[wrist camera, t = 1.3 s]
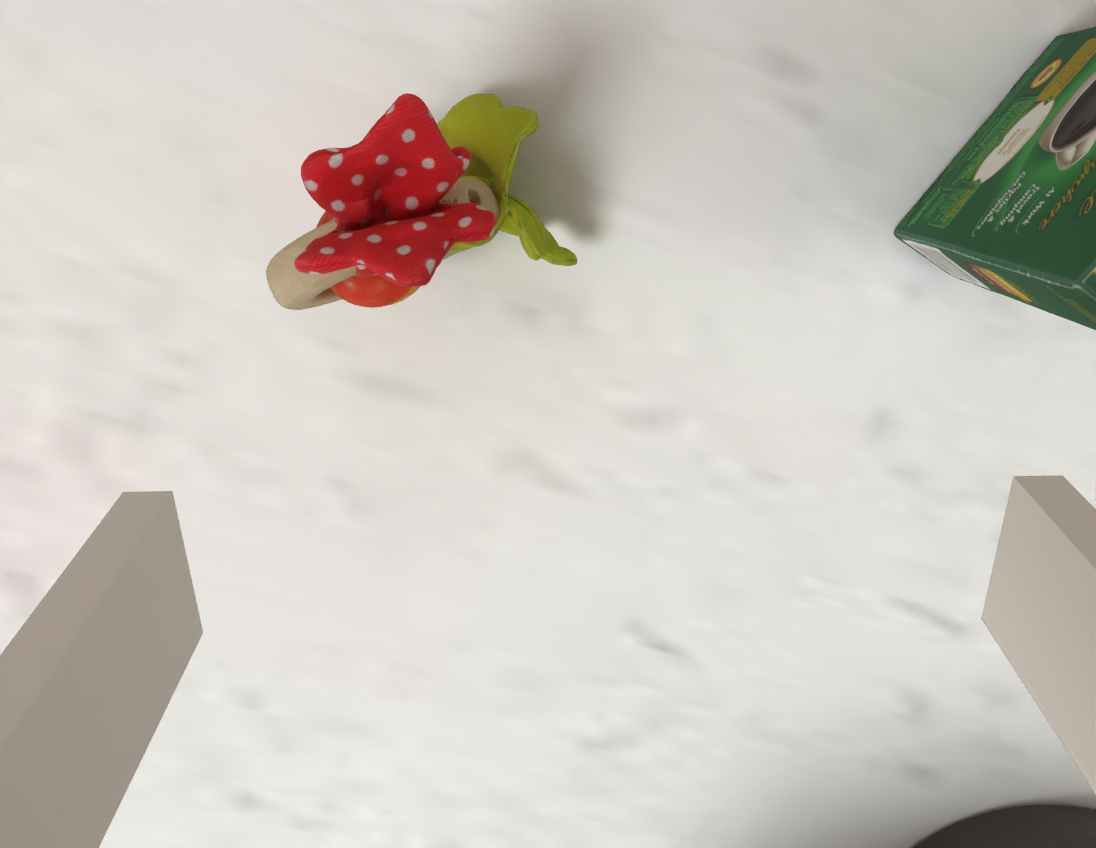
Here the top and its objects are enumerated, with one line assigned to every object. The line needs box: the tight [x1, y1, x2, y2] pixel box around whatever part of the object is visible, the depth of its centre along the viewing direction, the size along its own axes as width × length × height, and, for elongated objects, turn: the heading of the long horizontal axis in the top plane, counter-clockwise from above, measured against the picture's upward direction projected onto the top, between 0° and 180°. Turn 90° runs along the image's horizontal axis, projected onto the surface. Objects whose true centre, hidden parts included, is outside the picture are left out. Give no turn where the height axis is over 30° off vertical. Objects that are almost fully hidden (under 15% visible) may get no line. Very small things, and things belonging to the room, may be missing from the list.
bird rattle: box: [266, 94, 577, 310], centre depth 29 cm, size 6×11×9 cm
